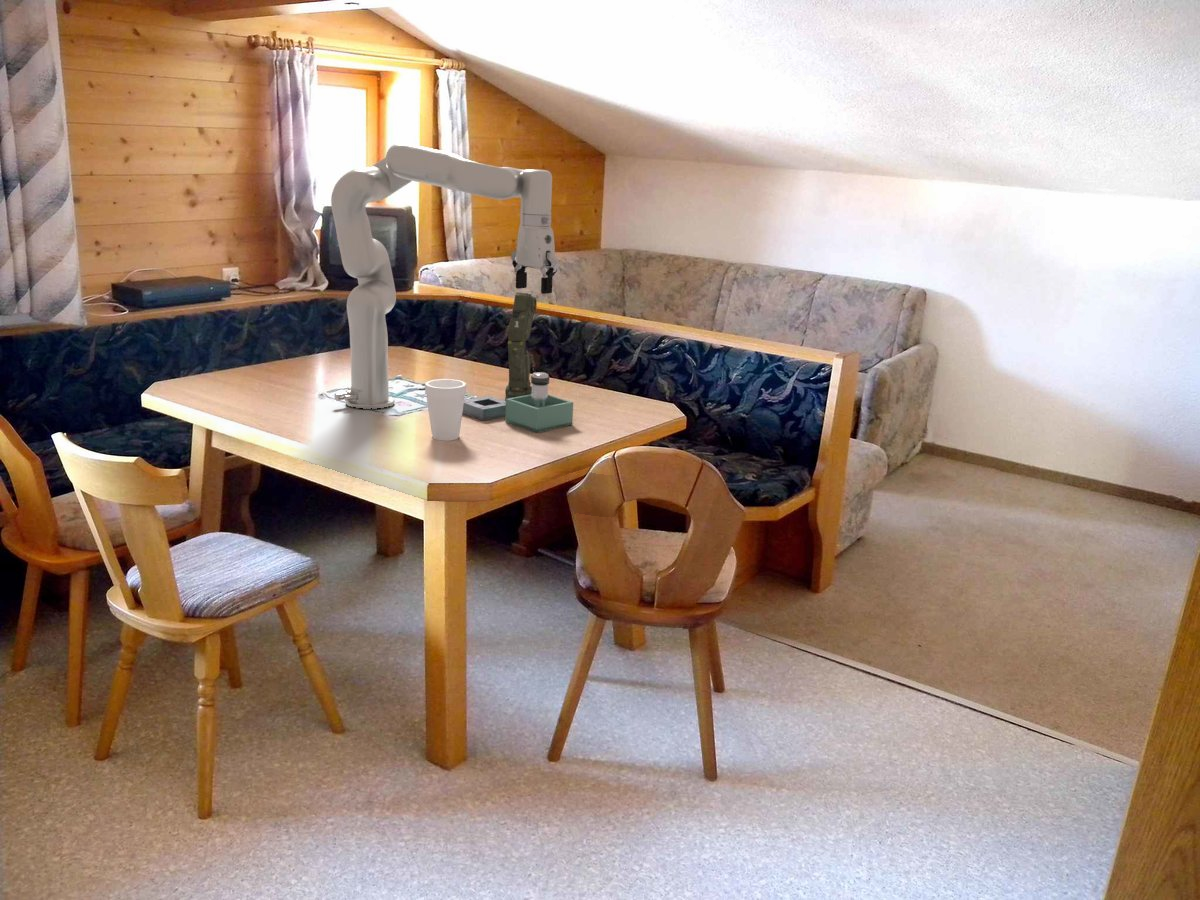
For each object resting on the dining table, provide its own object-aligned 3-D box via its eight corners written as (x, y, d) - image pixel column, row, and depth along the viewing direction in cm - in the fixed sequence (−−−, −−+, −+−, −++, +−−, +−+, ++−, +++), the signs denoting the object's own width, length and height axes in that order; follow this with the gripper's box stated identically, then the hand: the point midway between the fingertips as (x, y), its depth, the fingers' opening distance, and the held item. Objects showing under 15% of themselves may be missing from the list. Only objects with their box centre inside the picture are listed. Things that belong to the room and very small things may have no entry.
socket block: (483, 420, 254) (483, 409, 253) (459, 412, 261) (459, 401, 260) (513, 414, 261) (513, 403, 260) (489, 406, 268) (489, 395, 267)
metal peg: (528, 422, 252) (530, 375, 248) (530, 417, 256) (531, 371, 253) (547, 423, 252) (549, 376, 248) (548, 418, 256) (550, 372, 253)
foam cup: (471, 433, 243) (471, 381, 239) (457, 444, 234) (457, 389, 230) (434, 429, 245) (434, 377, 241) (419, 439, 236) (419, 386, 232)
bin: (536, 432, 246) (537, 409, 244) (505, 421, 254) (505, 398, 252) (572, 425, 254) (573, 402, 253) (541, 414, 262) (541, 392, 261)
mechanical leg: (522, 404, 268) (532, 291, 267) (496, 401, 270) (506, 289, 268) (535, 404, 282) (544, 297, 280) (510, 401, 283) (519, 295, 281)
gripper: (570, 224, 245) (567, 294, 250) (524, 218, 256) (522, 285, 261) (547, 224, 239) (545, 296, 244) (501, 218, 251) (500, 287, 256)
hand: (533, 290), depth 253 cm, fingers open, 9 cm apart
